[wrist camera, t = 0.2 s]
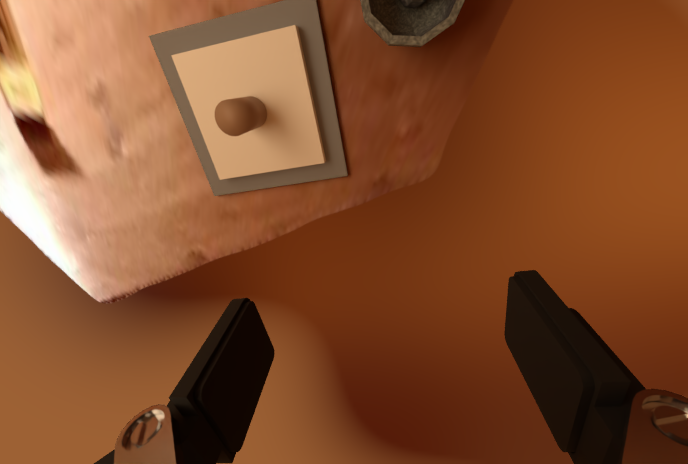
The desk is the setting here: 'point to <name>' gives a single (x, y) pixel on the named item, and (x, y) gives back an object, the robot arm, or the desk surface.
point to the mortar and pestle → (410, 19)
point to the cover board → (264, 81)
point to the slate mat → (305, 15)
